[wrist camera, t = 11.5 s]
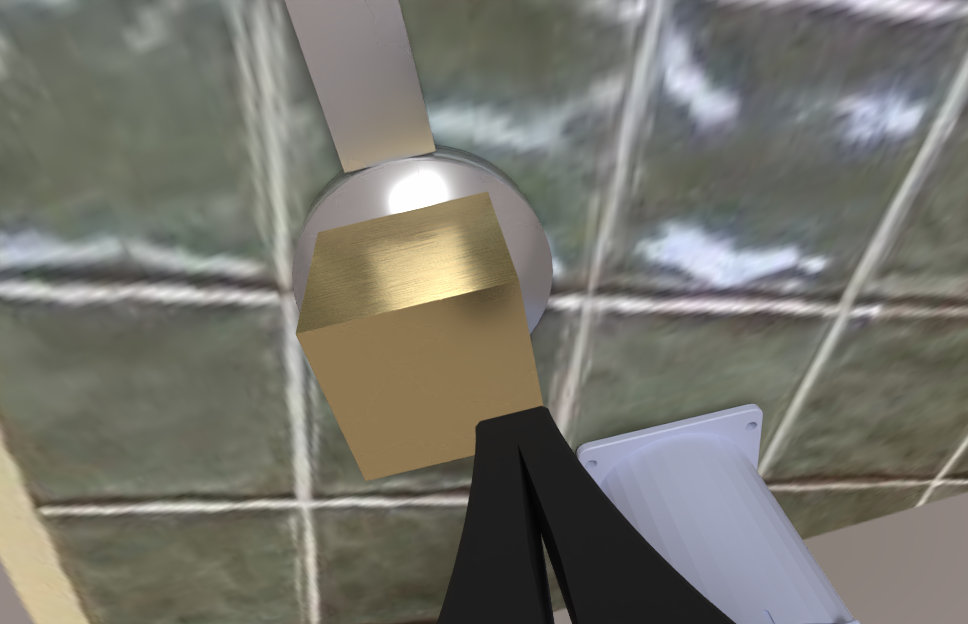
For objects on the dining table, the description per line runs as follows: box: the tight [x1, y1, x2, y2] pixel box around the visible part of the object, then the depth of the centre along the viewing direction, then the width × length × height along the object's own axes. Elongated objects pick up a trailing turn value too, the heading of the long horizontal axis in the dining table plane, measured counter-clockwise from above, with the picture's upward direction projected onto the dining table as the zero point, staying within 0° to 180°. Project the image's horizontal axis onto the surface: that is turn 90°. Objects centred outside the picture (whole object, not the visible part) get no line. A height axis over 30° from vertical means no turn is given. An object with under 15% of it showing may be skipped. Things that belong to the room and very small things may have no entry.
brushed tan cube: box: [296, 191, 543, 481], centre depth 17 cm, size 5×5×5 cm
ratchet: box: [285, 0, 553, 334], centre depth 14 cm, size 22×8×4 cm, turn 11°
